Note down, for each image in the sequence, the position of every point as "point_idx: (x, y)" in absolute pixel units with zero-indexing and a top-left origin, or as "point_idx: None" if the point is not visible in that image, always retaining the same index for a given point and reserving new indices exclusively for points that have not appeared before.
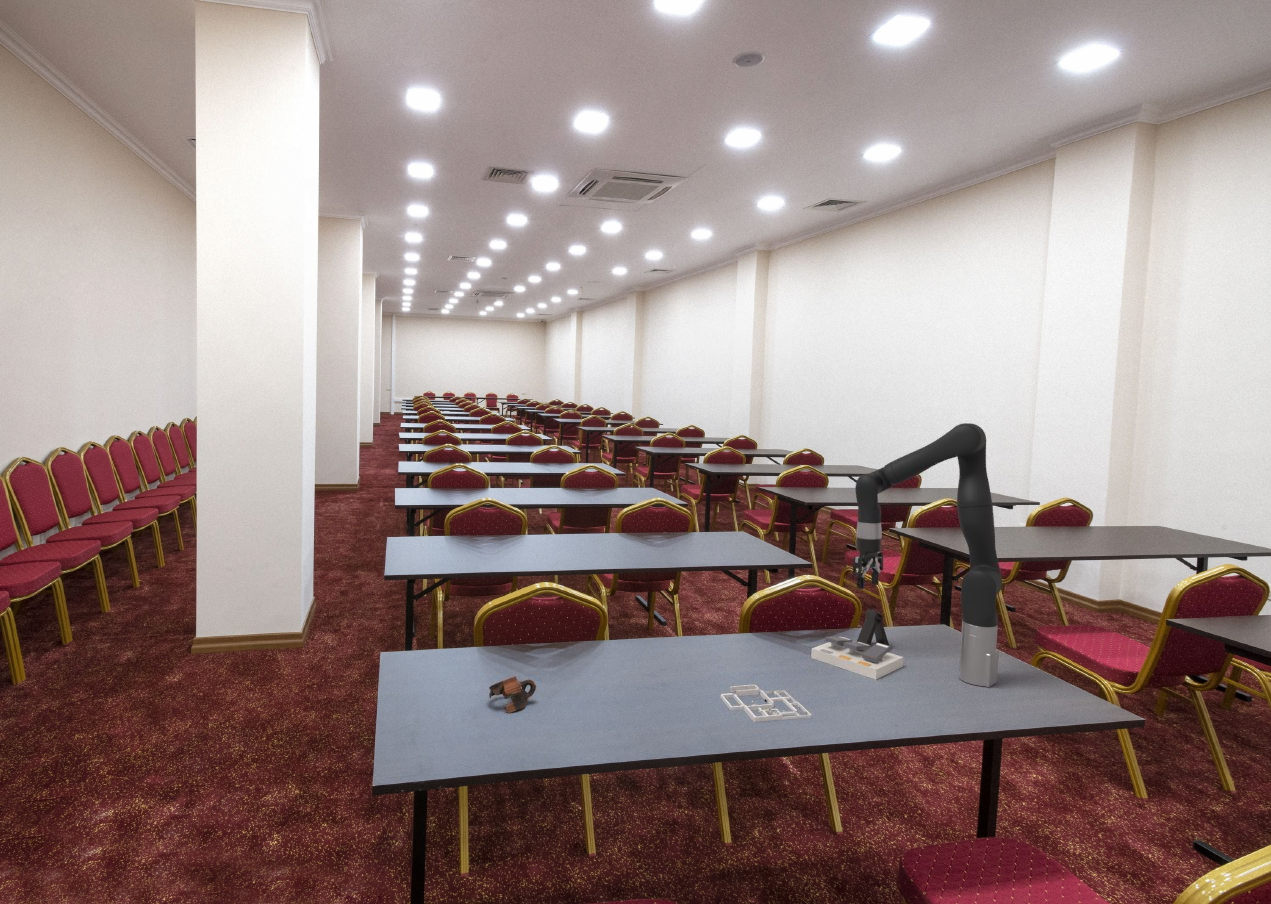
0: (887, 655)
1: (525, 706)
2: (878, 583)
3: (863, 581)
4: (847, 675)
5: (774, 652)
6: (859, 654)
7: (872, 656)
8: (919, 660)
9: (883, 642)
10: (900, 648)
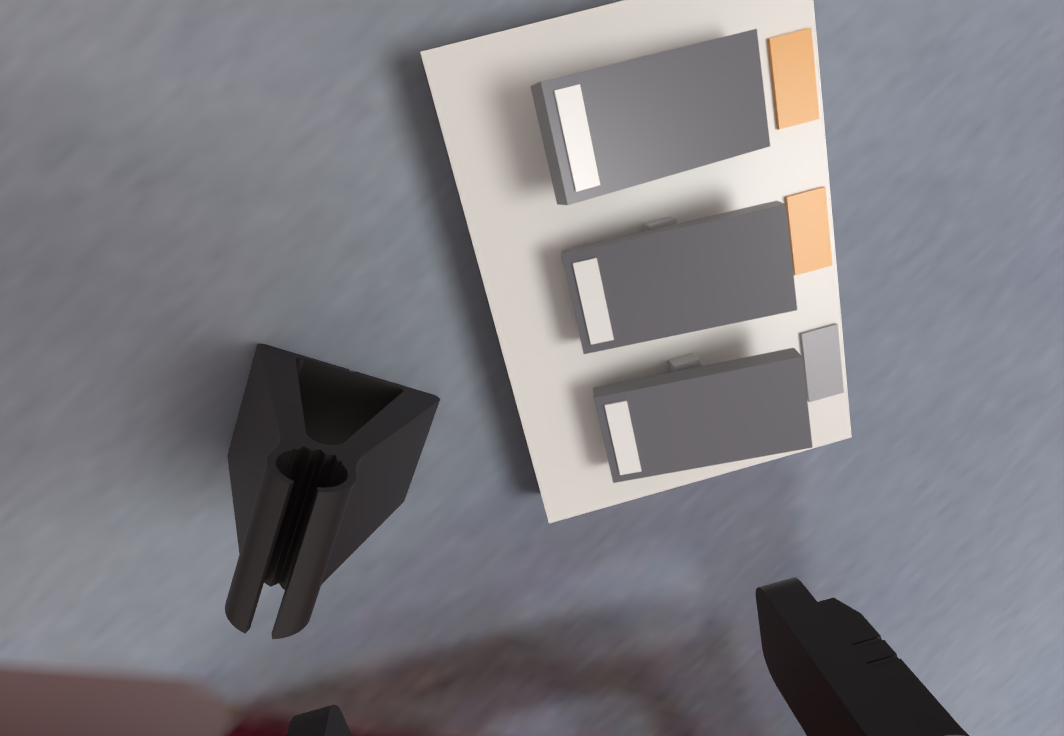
0: (507, 135)
1: None
2: (293, 724)
3: (863, 671)
4: (863, 116)
5: (916, 542)
6: None
7: (746, 67)
8: (205, 96)
9: (296, 376)
10: (166, 332)
